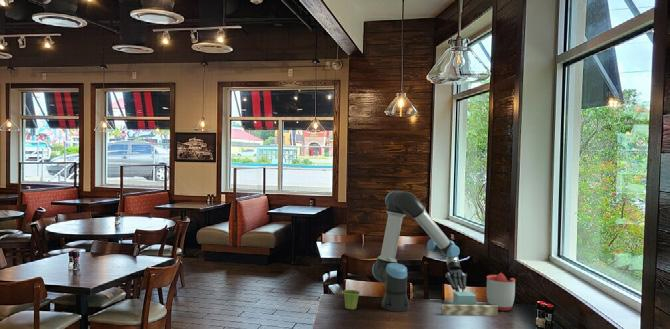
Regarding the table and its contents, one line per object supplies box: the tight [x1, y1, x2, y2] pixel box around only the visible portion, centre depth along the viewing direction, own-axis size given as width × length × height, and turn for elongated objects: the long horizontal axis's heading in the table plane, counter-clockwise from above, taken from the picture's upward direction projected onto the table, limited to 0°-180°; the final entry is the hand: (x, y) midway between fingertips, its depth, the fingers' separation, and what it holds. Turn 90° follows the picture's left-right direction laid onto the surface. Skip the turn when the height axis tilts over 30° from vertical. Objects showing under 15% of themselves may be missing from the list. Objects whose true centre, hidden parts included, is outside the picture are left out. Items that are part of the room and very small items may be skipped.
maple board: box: [440, 304, 499, 317], centre depth 241 cm, size 30×2×5 cm, turn 93°
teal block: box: [452, 291, 477, 305], centre depth 249 cm, size 10×8×9 cm
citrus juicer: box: [486, 272, 516, 312], centre depth 256 cm, size 16×17×20 cm
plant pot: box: [342, 289, 361, 310], centre depth 246 cm, size 9×9×9 cm
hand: (462, 300), depth 254 cm, fingers closed
